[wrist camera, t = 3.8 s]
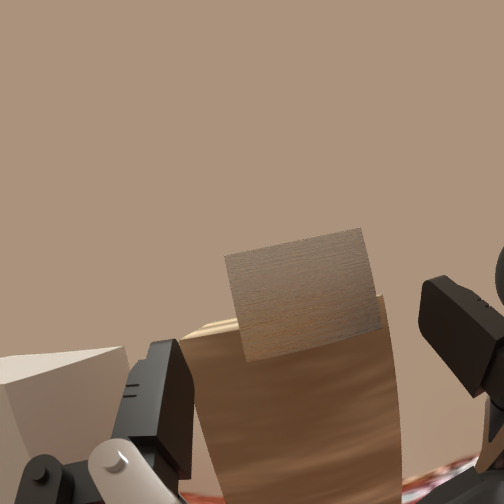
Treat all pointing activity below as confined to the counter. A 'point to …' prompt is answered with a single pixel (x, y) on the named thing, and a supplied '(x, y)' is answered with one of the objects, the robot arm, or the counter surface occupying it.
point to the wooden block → (303, 294)
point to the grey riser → (56, 407)
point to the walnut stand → (299, 418)
